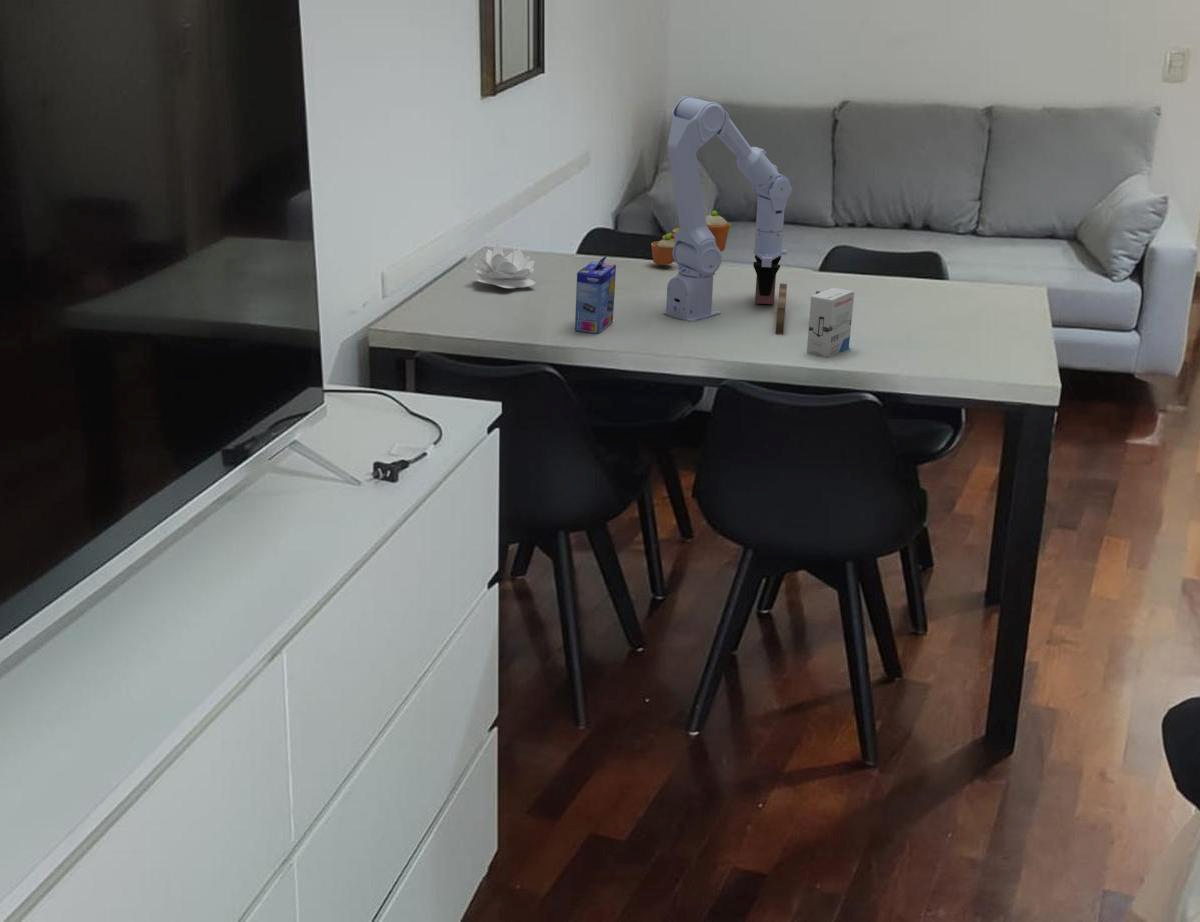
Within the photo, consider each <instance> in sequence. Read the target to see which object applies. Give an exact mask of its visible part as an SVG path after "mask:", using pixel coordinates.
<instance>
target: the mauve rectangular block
mask: <svg viewBox="0 0 1200 922" xmlns="http://www.w3.org/2000/svg"><path fill="white" fill-rule="evenodd" d="M776 280H777V275H776V276H775V278H774V281H773V286H772V290H771V293H770V296H761V295H760V293H759V286H758V278H757V277H756V279H755V281H756V283H755V294H754V295H755V298H754V304H761V305H762V304H767V305H775V295H776V294H775V293H776V284H777V283H776Z"/></svg>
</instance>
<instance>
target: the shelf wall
mask: <svg viewBox="0 0 1200 922" xmlns="http://www.w3.org/2000/svg"><path fill="white" fill-rule="evenodd" d="M787 289H788V284H787V283H782V282H781V283H779V289H778V297H777V298H778V299H777V309H776V323H775V335H784V329H785V317H786V315H785V314H786V305H787V303H786V302H787V291H788V290H787Z"/></svg>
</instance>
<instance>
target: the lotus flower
mask: <svg viewBox="0 0 1200 922" xmlns="http://www.w3.org/2000/svg"><path fill="white" fill-rule="evenodd" d="M515 247H516V245H515V243H514V244H513V250H512V252H510V253H509V254H508V255H505V252H504V250H503V247H502V246H501V245H500V244H499V243H495V244H494V247H493V249H492V250H491V249H487V251H486V253H485V259H484V258H483V257H482V256H481V255H480V254H479V255H478V257H479V259H480V260H481V262H482V263H483V264H484V265H485V267H486V268H484V267H482V266H481V265H479V264H477V263H475V262H473V263H472V264H473V265H474V266H476V267H477V268H478V269H475V270H474V272H475V274H476V275H477V276H478V277H480V278H477V279H476V282H479V283H482V284H488V285H493V286H496V287H499V288H504V289H516V288H528V287H532V286H535V285H536V282H535V281H534V280H532V279H531V278H528V277H529V276H531V275H533V273H534V265H535V260H530V259H531V256H532V255H531V254H529V255H527V256H524V253H523V251H522V250H521V249H517V250H516V249H515Z"/></svg>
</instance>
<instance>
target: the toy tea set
mask: <svg viewBox="0 0 1200 922" xmlns="http://www.w3.org/2000/svg"><path fill="white" fill-rule="evenodd" d="M705 217H706V224H707V227H708V229H709V230H710V231H711V233H712V234H713V236H714V237H715V241H716V245H717V247H718V248H719V250H720V251H721V252H724V251H725V250H726V249H725V248H726V246H727V239H728V234H729V230H730V229H732V224H731V223H730V222H728V221H727V220H726V219H725V218H724V217H722V216H720V215H718V211H717V210H712V211H711V214H709V215H707V216H705ZM678 230H680V227H678V228H677V227H676V228H673V229H672V231H671V232H669V233H665V234H663V236H662V239H661V240H659V241H653V242H651V244H650V245H651V246H650V247H651V255H652V261H653V263H654V264H656V265H663V266H665V265H666V266H667V265H671V264H672V263H673V262H674V258H673V247H674V234H675V233H676V232H677V231H678Z"/></svg>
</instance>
